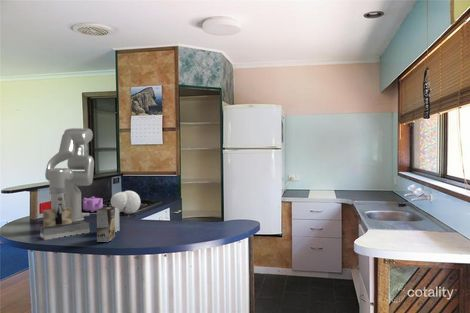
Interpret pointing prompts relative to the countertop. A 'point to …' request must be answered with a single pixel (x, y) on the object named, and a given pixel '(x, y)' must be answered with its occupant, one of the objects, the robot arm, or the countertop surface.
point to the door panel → (51, 215)
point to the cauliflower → (126, 202)
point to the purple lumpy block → (92, 204)
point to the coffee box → (105, 224)
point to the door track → (64, 230)
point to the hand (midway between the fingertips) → (57, 223)
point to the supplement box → (117, 220)
